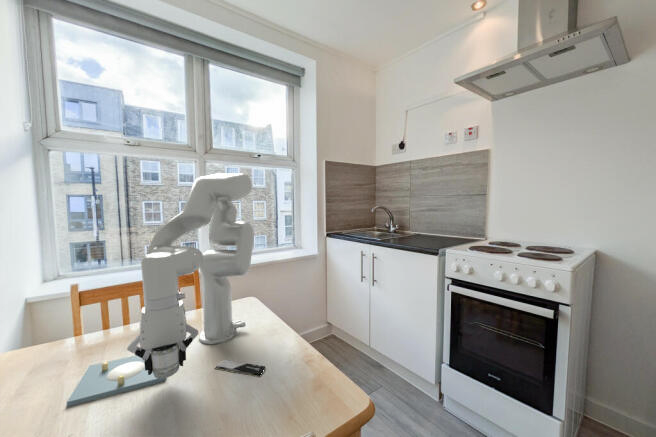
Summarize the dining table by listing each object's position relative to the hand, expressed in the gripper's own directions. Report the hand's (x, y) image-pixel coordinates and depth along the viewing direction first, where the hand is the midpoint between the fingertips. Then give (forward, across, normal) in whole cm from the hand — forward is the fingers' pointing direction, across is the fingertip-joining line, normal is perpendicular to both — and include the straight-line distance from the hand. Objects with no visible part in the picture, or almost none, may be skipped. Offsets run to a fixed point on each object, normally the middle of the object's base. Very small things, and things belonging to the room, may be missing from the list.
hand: (166, 366), depth 69 cm
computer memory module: (+7, -18, +1) cm, 19 cm away
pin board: (+6, +11, -11) cm, 16 cm away
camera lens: (+2, 0, 0) cm, 2 cm away
